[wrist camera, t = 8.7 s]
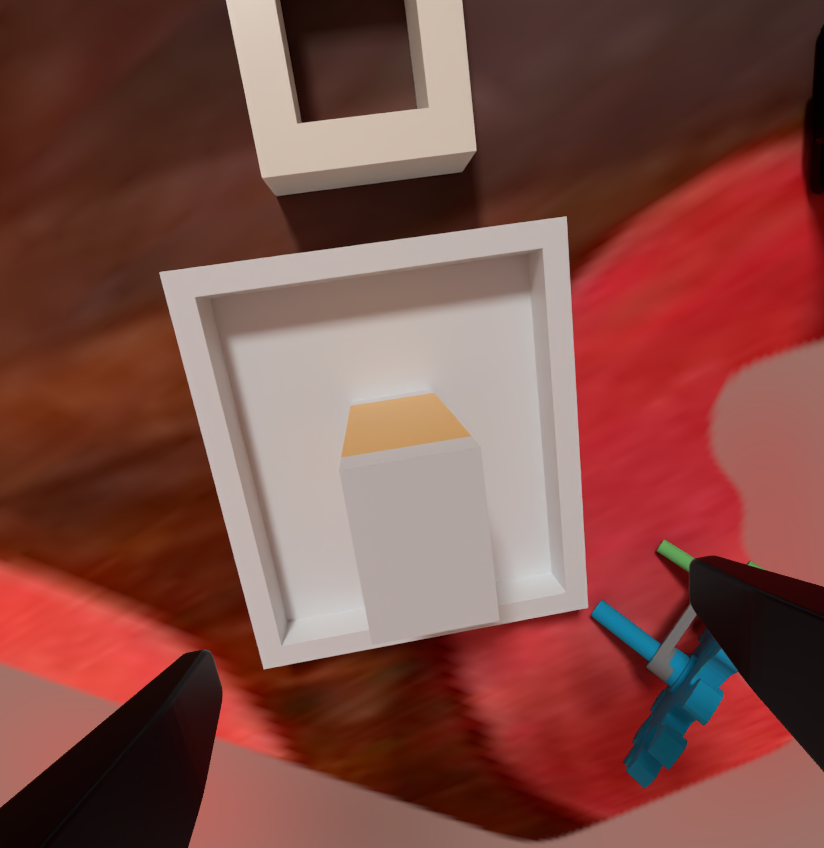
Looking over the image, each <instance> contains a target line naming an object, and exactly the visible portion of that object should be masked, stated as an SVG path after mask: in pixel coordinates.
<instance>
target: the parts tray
mask: <svg viewBox="0 0 824 848" xmlns="http://www.w3.org/2000/svg"><path fill="white" fill-rule="evenodd" d="M159 273H160V277H161V281H162V285H163V289H164V292H165V296H166V300H167V304H168V308H169V311H170V315H171V319H172V323H173V327H174V330H175V334H176V338H177V342H178V345H179V349H180V353H181V357H182V361H183V364H184V368H185V372H186V376H187V380H188V383H189V387H190V391H191V395H192V399H193V402H194V406H195V410H196V414H197V418H198V421H199V425H200V429H201V433H202V437H203V440H204V444H205V448H206V452H207V456H208V459H209V463H210V467H211V471H212V475H213V478H214V482H215V486H216V490H217V494H218V497H219V501H220V505H221V509H222V513H223V516H224V520H225V524H226V528H227V532H228V535H229V539H230V543H231V547H232V550H233V554H234V558H235V562H236V566H237V569H238V573H239V577H240V581H241V585H242V588H243V592H244V596H245V600H246V604H247V607H248V611H249V615H250V619H251V623H252V626H253V630H254V634H255V638H256V642H257V645H258V649H259V653H260V657H261V661H262V664H263V668H264V669H268V668H273V667H278V666H284V665H289V664H294V663H299V662H305V661H310V660H315V659H321V658H326V657H331V656H336V655H342V654H347V653H352V652H358V651H363V650H368V649H373V648H379V647H384V646H389V645H395V644H400V643H405V642H410V641H416V640H421V639H426V638H431V637H437V636H442V635H447V634H453V633H458V632H463V631H468V630H474V629H479V628H484V627H490V626H495V625H500V624H505V623H511V622H516V621H521V620H527V619H532V618H537V617H542V616H548V615H553V614H558V613H564V612H569V611H574V610H579V609H585V608H588V596H587V578H586V560H585V541H584V523H583V505H582V487H581V469H580V451H579V432H578V414H577V396H576V378H575V360H574V342H573V324H572V305H571V287H570V269H569V251H568V233H567V216H566V217H559V218H551V219H544V220H537V221H529V222H522V223H515V224H508V225H500V226H493V227H486V228H478V229H471V230H464V231H457V232H449V233H442V234H435V235H427V236H420V237H413V238H406V239H398V240H391V241H384V242H376V243H369V244H362V245H355V246H347V247H340V248H333V249H326V250H318V251H311V252H304V253H296V254H289V255H282V256H275V257H267V258H260V259H253V260H245V261H238V262H231V263H224V264H216V265H209V266H202V267H194V268H187V269H180V270H173V271H165V272H159ZM428 389H432V390H433V392H434V393H435V394H436V395H437V396H438V397H439V399H440V400H441V401H442V402H443V403H444V404H445V405H446V407H447V408H448V409H449V410H450V411H451V412H452V414H453V415H454V416H455V417H456V418H457V419H458V421H459V422H460V423H461V424H462V425H463V426H464V428H465V429H466V430H467V431H468V432H469V433H470V435H471V436H472V437H473V438H474V439H475V440H476V442H477V443H478V444H479V445H480V446H481V452H482V462H483V471H484V480H485V489H486V499H487V508H488V517H489V526H490V536H491V545H492V554H493V563H494V572H495V582H496V591H497V600H498V609H499V619H500V621H498V622H492V623H487V624H482V625H476V626H471V627H466V628H460V629H455V630H450V631H444V632H439V633H434V634H428V635H423V636H418V637H412V638H407V639H402V640H396V641H391V642H386V643H380V644H375V645H372V642H371V636H370V631H369V626H368V621H367V615H366V610H365V605H364V600H363V594H362V589H361V584H360V579H359V573H358V568H357V563H356V557H355V552H354V547H353V542H352V536H351V531H350V526H349V521H348V515H347V510H346V505H345V499H344V494H343V489H342V484H341V478H340V473H339V467H340V461H341V455H342V450H343V444H344V439H345V433H346V428H347V422H348V417H349V411H350V406H351V401H357V400H363V399H370V398H376V397H383V396H389V395H395V394H402V393H408V392H415V391H421V390H428Z"/></svg>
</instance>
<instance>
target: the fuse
mask: <svg viewBox="0 0 824 848" xmlns="http://www.w3.org/2000/svg"><path fill="white" fill-rule="evenodd" d="M339 473H340V478H341V484H342V489H343V494H344V499H345V505H346V510H347V515H348V521H349V526H350V531H351V536H352V542H353V547H354V552H355V557H356V563H357V568H358V573H359V579H360V584H361V589H362V594H363V600H364V605H365V610H366V615H367V621H368V626H369V631H370V636H371V642H372V645H375V644H380V643H386V642H391V641H396V640H402V639H407V638H412V637H418V636H423V635H428V634H434V633H439V632H444V631H450V630H455V629H460V628H466V627H471V626H476V625H482V624H487V623H492V622H498V621H500V619H499V609H498V600H497V591H496V582H495V572H494V563H493V554H492V545H491V536H490V526H489V517H488V508H487V499H486V489H485V480H484V471H483V462H482V452H481V446H480V445H479V444H478V443H477V442H476V440H475V439H474V438H473V437H472V436H471V435H470V433H469V432H468V431H467V430H466V429H465V428H464V426H463V425H462V424H461V423H460V422H459V421H458V419H457V418H456V417H455V416H454V415H453V414H452V412H451V411H450V410H449V409H448V408H447V407H446V405H445V404H444V403H443V402H442V401H441V400H440V399H439V397H438V396H437V395H436V394H435V393H434V392H433V390H432V389H428V390H421V391H415V392H408V393H402V394H395V395H389V396H383V397H376V398H370V399H363V400H357V401H351V406H350V411H349V417H348V422H347V428H346V433H345V439H344V444H343V450H342V455H341V461H340V467H339Z"/></svg>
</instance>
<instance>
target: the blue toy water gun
mask: <svg viewBox="0 0 824 848" xmlns="http://www.w3.org/2000/svg"><path fill="white" fill-rule="evenodd" d="M657 552H658V553H660V554H661V555H663V556H664V557H666V558H667V559H669V560H670V561H672V562H674V563H675V564H677V565H678V566H680V567H681V568H683V569H684V570H686V571H688V572H689V565H690V562H691V561H692V560H693V559H695V558H693V557H692V556H690V555H689V554H687V553H685V552H684V551H682V550H681V549H679V548H677V547H676V546H674V545H673V544H671V543H669V542H668V541H666V540H664V541H663V542H662V543H661V545H660V546H659V548H658V549H657ZM746 565H749V566H753V567H756V568H760V569H763V568H761V567H760V566H758V565H756V564H755V563H753V562H751V561H749V562H748V563H747V564H746ZM763 570H765V569H763ZM696 615H697V614H696V613H695V611H694V610H693V608H692V606H691V603H689V604H688V605H687V607H686V608H685V610H684V611H683V613H682V614H681V615H680V617H679V618H678V620H677V621H676V623H675V624H674V626H673V627H672V628H671V630H670V631H669V633H668V634H667V636H666V637H665V638H664V640H663V641H662V643H661V644H660V643H659V642H658V641H656V640H655V639H654V638H652V637H651V636H650V635H648V634H647V633H646V632H644V631H643V630H642V629H640V628H639V627H638V626H636V625H635V624H634V623H632V622H631V621H630V620H628V619H627V618H626V617H624V616H623V615H622V614H620V613H619V612H618V611H616V610H615V609H614V608H612V607H611V606H610V605H609V604H607V603H606V602H605V601H603V600H601V602H600V603H599V604H598V605H597V607H596V608H595V610H594V611H593V613H592V614H591V616H592V617H593V618H594V619H595V620H597V621H598V622H599V623H600V624H602V625H603V626H604V627H606V628H607V629H608V630H609V631H611V632H612V633H613V634H614V635H616V636H617V637H618V638H620V639H621V640H622V641H623V642H625V643H626V644H627V645H628V646H630V647H631V648H632V649H633V650H635V651H636V652H637V653H639V654H640V655H641V656H642V657H644V658H645V659H646V660H647V661H649V662H648V663H647V665H646V668H647V669H648V670H650V671H651V672H652V673H653V674H655V675H656V676H657V677H658V678H660V679H661V680H662V681H663V682H665V683H666V684H667V685H668V686H667V687H666V688H665V689H664V690H662V692H661V693H660V694H659V695H658V697H657V699H656V700H655V702H654V704H653V705H652V707H651V709H650V711H652V713H651V715H650V716H649V717H648V719H647V720H646V721H645V722H644V723H643V724H642V726H641V727H640V728H639V730H638V731H637V733H636V734H635V737H634V739H633V742H632V743H633V744H634V746H633V748H632V749H631V750H630V752H629V753H628V755H627V756H626V758H625V760H624V761H623V763H624V764H625V765H626V766H627V769H626V772H628V773H629V774H630V775H631V776H632V777H633V778H634V779H635V780H636V781H637V782H638V783H639V784H640V785H641V786H642V787H643V788H646V787H647V786H648V785H650V784H651V783H652V782H653V780H654V779H655V778H656V777H657V775H658V773H659V771H660V769H661V767H662V765H663V766H664V767H665V768H667V769H668V770H669V769H670V768H671V767H672V765H673V764H674V763H675V762H676V761H677V759H678V758H679V757H680V755H681V754H682V752H683V751H684V749H685V748H686V745H687V740H686V739H685V738H683V736H684V734H685V732H686V731H687V729H688V728H689V726H690V725H691V724H692V723H693V722H694V721H695V720H697V721H699V722H700V723H701V724H702V725H705V724H706V723H708V721H709V720H710V718H711V717H712V715H713V714H714V712H715V710H716V709H717V707H718V705H719V704H720V702H721V700H722V698H723V693H724V691H723V690H721V689H720V688H719V687H720V686H721V685H722V684H723V683H724V682H725V681H726V680H727V679H728V678H729V677H730V676H731V675H733V674H734V673H737V672H738V670H737V669H736V668H735V666H734V665H733V664H732V662H731V661H730V659H729V658H728V657H727V655H726V654H725V653H724V651H723V650H722V648H721V647H720V646H719V644H718V643H717V642H716V640H715V639H714V638H713V636H712V635H711V633H710V632H709V631H708V629H707V628H706V629H705V630H704V631H703V633H702V634H701V636H700V637H699V639H698V641H699V642H700V644H699V645H698V647H697V648H696V649H695V651H694V652H693V653H692V654H691V655H690V656H689V655H688V654H684V653H683V652H682V651H680V650H679V649H678V648H676V647H675V645H676V644H677V642H678V641H679V639H680V638H681V636H682V635H683V634H684V632H685V631H686V629H687V628H688V626H689V625H690V624H691V622H692V621H693V619H694V618H695V616H696Z"/></svg>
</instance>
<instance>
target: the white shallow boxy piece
mask: <svg viewBox="0 0 824 848" xmlns="http://www.w3.org/2000/svg"><path fill="white" fill-rule="evenodd" d="M226 2H227V7H228V12H229V17H230V22H231V27H232V32H233V37H234V42H235V47H236V52H237V57H238V62H239V67H240V72H241V77H242V82H243V86H244V91H245V96H246V101H247V106H248V111H249V116H250V121H251V126H252V131H253V136H254V141H255V146H256V151H257V156H258V161H259V166H260V171H261V176H262V179H263V180H264V181H265V183H266V184H267V185H268V187H269V188H270V189H271V190H272V192H273V193H274V194H275V196H282V195H289V194H297V193H305V192H313V191H320V190H328V189H336V188H343V187H351V186H359V185H367V184H374V183H382V182H390V181H397V180H405V179H413V178H420V177H428V176H436V175H444V174H451V173H459V172H463V170H464V169H465V167H466V166H467V164H468V163H469V161H470V160H471V158H472V157H473V155H474V154H475V152H476V151H477V150H476V140H475V129H474V119H473V108H472V98H471V88H470V77H469V67H468V57H467V46H466V36H465V25H464V15H463V5H462V0H404V3H405V11H406V19H407V28H408V36H409V44H410V52H411V60H412V68H413V77H414V85H415V93H416V101H417V109H414V110H406V111H397V112H389V113H381V114H373V115H364V116H356V117H348V118H340V119H331V120H323V121H315V122H306V123H302V121H301V115H300V110H299V104H298V99H297V93H296V87H295V82H294V76H293V70H292V65H291V59H290V53H289V48H288V42H287V37H286V31H285V25H284V20H283V14H282V8H281V3H280V0H226Z"/></svg>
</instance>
